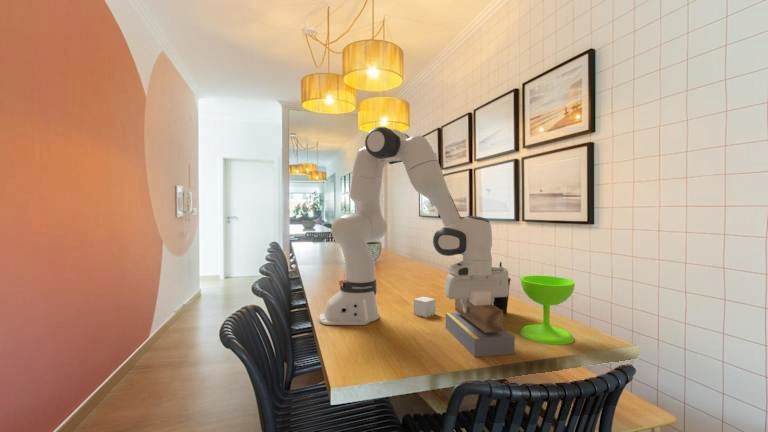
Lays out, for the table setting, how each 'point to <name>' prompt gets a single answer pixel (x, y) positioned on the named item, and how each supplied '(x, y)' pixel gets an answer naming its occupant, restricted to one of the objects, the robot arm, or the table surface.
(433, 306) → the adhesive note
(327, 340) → the table surface
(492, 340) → the block
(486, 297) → the beige block
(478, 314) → the brown wooden block
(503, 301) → the drinking cup
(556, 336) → the wineglass
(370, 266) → the robot arm
